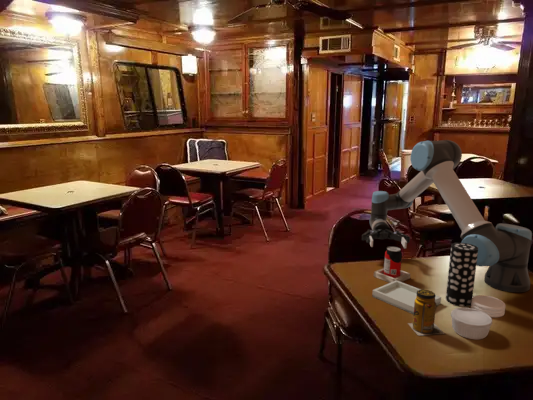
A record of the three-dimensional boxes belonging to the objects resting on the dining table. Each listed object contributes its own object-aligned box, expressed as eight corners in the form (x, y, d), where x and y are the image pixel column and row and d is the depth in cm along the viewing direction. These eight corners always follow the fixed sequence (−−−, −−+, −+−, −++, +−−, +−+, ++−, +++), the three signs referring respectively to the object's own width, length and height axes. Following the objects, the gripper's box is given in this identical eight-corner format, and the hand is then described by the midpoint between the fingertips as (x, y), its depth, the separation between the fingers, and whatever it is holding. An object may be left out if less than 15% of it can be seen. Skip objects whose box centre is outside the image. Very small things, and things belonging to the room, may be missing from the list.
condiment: (407, 323, 129) (410, 288, 126) (433, 322, 130) (436, 286, 127) (417, 336, 122) (421, 298, 119) (445, 334, 123) (449, 297, 120)
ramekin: (481, 323, 129) (483, 308, 128) (497, 343, 118) (499, 326, 117) (444, 321, 130) (446, 306, 129) (456, 340, 120) (458, 324, 118)
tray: (440, 303, 142) (441, 297, 141) (417, 316, 134) (418, 309, 133) (395, 286, 156) (396, 280, 155) (372, 296, 147) (372, 290, 147)
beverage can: (401, 281, 161) (403, 251, 158) (384, 280, 161) (386, 251, 159) (398, 274, 167) (400, 246, 164) (382, 273, 168) (384, 245, 165)
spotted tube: (474, 307, 139) (481, 251, 135) (448, 305, 141) (454, 249, 137) (468, 296, 147) (474, 243, 143) (443, 294, 149) (448, 241, 144)
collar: (410, 278, 163) (410, 273, 163) (394, 284, 157) (395, 279, 157) (388, 270, 171) (389, 266, 170) (373, 276, 165) (373, 271, 164)
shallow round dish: (504, 308, 139) (506, 298, 139) (504, 321, 131) (505, 311, 130) (471, 301, 144) (473, 292, 144) (469, 313, 136) (470, 303, 135)
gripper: (408, 238, 191) (418, 254, 171) (353, 235, 194) (357, 251, 174) (409, 222, 190) (420, 237, 169) (354, 220, 193) (358, 234, 172)
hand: (388, 244), depth 172 cm, fingers open, 13 cm apart
